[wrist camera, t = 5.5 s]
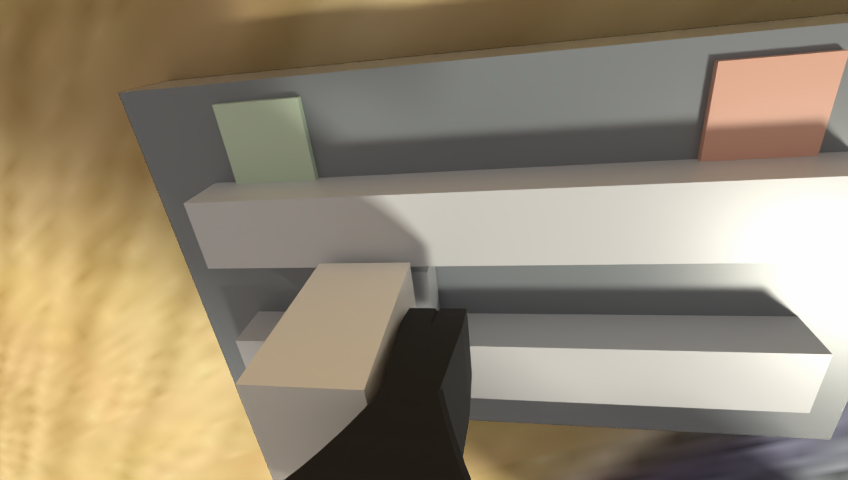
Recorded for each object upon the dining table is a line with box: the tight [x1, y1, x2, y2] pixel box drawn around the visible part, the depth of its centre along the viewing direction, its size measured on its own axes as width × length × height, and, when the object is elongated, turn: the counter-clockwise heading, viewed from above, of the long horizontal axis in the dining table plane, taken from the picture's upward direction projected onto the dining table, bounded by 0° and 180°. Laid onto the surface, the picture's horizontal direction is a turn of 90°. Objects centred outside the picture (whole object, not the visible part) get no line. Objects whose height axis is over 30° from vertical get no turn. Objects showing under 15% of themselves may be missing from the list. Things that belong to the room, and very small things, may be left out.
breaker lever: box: [235, 262, 440, 480], centre depth 11 cm, size 3×3×6 cm
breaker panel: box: [119, 13, 848, 439], centre depth 13 cm, size 20×12×4 cm, turn 96°
